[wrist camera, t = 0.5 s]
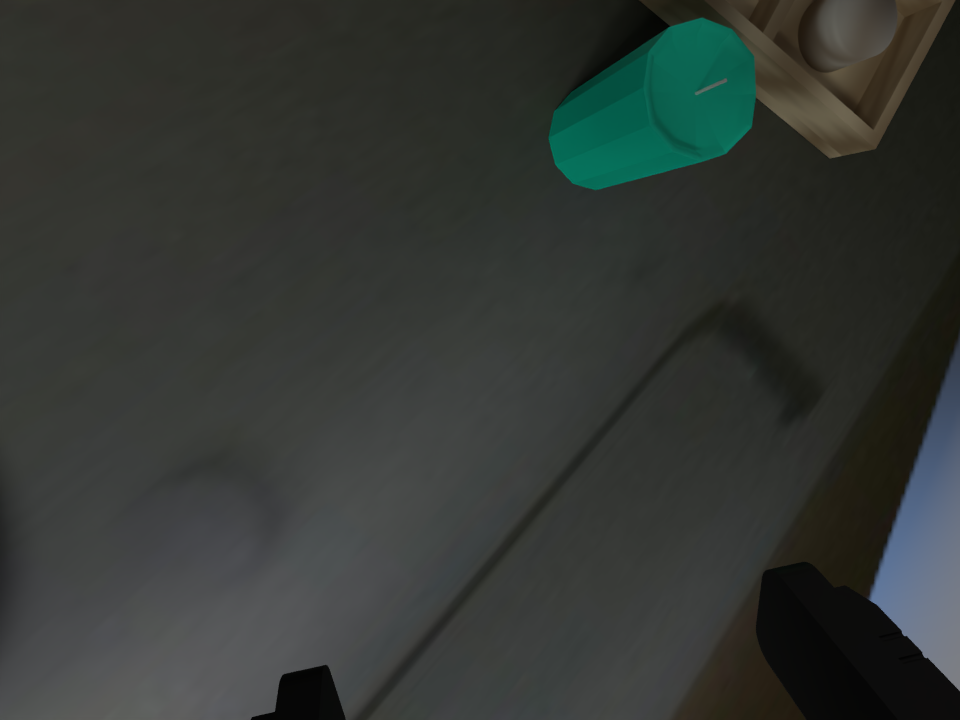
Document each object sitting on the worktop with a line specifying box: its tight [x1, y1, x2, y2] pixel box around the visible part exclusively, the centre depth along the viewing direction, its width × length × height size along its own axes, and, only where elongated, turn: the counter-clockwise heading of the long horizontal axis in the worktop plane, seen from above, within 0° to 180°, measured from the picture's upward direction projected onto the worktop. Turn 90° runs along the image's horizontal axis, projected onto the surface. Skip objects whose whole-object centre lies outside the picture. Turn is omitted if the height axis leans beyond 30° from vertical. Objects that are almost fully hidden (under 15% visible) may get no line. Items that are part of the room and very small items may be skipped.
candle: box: [549, 18, 756, 190], centre depth 31 cm, size 6×6×12 cm
